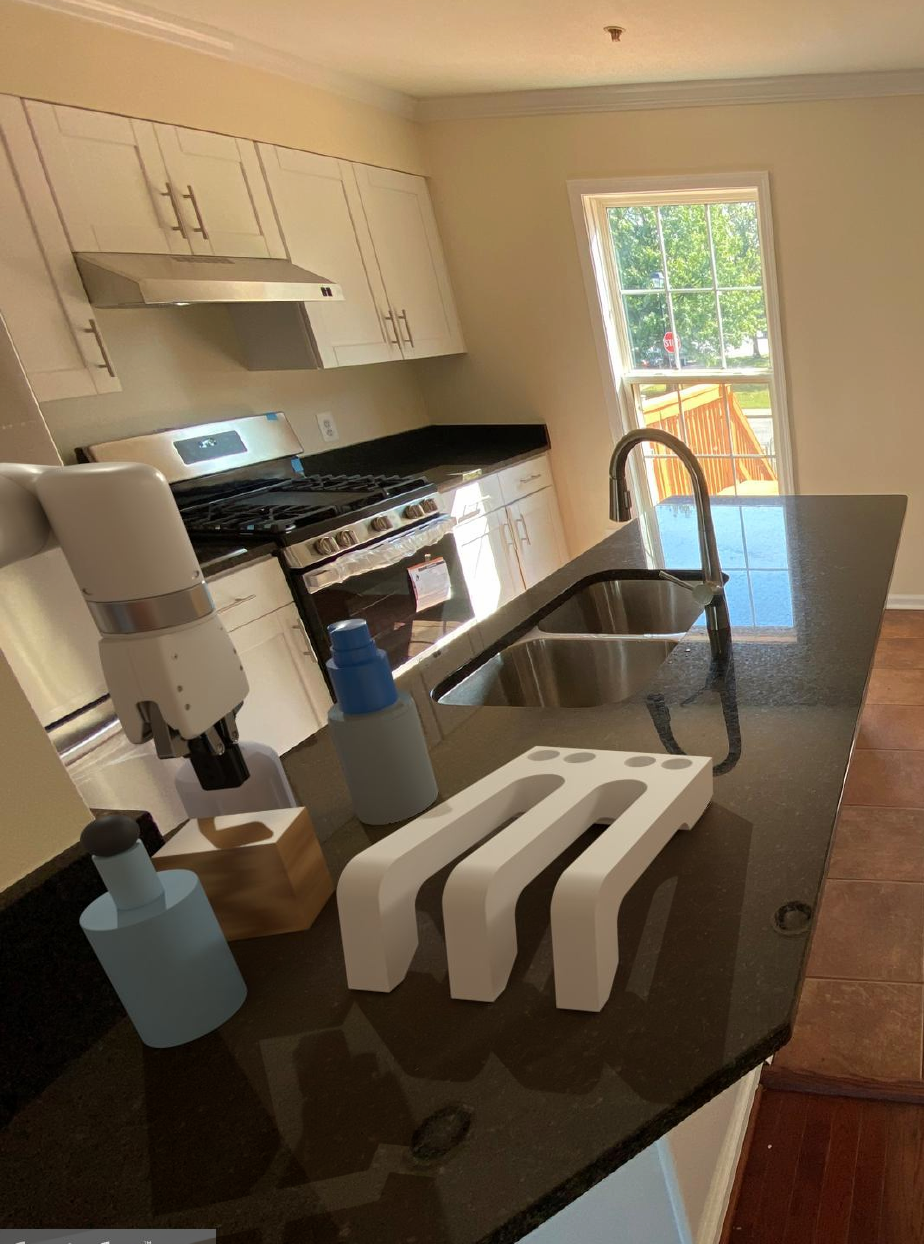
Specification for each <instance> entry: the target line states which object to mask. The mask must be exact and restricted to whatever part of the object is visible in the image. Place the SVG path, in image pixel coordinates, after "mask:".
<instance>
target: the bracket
mask: <svg viewBox="0 0 924 1244" xmlns="http://www.w3.org/2000/svg"><path fill="white" fill-rule="evenodd" d="M713 769H714V768H713V757H712V756H701V755H687V754H686V755H685V754H668V753H653V752H652V753H651V752H638V751H637V752H636V751H621V750H604V749H592V748H589V749H588V748H576V747H575V748H574V747H573V748H572V747H558V746H557V747H556V746H544V745H535V746H533V747H532V748H530V749H528V750H527V751H525V752H524V753H522V754H520V755H518V756H517V757H515V758H514V759H512V760H511V761H509V762H508V763H506V764H504V765H503V766H501V767H499V768H497V769H496V770H493V771H492V772H490V773H489V774H487V775H486V776H484V777H482V778H481V779H479V780H477V781H476V782H474V783H473V784H471V785H470V786H467V787H466V788H465V789H463V790H461V791H459V792H458V793H456V794H455V795H454V796H451V797H450V798H448V799H446V800H445V801H443V802H441V803H440V804H438V805H436V806H435V807H433V808H432V809H430V810H429V811H427V812H425V813H423V814H421V815H420V816H418V817H417V818H416V819H413V820H412V821H410V822H408V823H407V824H406V825H404V826H401V827H400V828H399V829H397V830H395V831H393V832H392V833H391V834H389V835H387V836H386V837H384V838H382V839H381V840H378V841H377V842H376V843H374V844H373V845H371V846H369V847H367V848H366V849H364V850H362V851H361V852H359V853H358V854H356V855H355V856H354V857H352V858H351V859H350V860H349V862H347V864H346V866H345V867H344V869H343V870H342V872H341V874H340V876H339V879H338V882H337V887H336V902H337V910H338V911H337V912H338V918H339V925H340V935H341V941H342V950H343V956H344V964H345V965H344V966H345V972H346V980H347V986H348V987H347V989H349V990H360V991H371V992H383V993H390V992H392V990H394V989H395V988H396V987H397V986H398V985H399V984H401V983H402V982H403V981H404V980H405V978H406V975H407V973H408V970H409V968H410V966H411V964H412V961H413V958H414V956H415V953H416V951H417V949H418V946H419V944H420V943H419V934H418V924H417V914H416V899H417V895H418V893H419V891H420V888H421V887H422V885H423V884H424V883H425V882H426V881H427V880H428V879H429V878H431V877H432V876H433V875H434V874H437V873H438V872H439V871H440V870H442V869H443V868H444V867H446V866H447V865H448V864H450V863H452V862H453V861H454V860H455V859H456V858H458V857H459V856H460V855H462V854H464V852H466V851H467V850H468V849H470V848H471V847H473V846H475V845H476V844H477V843H478V842H480V841H481V840H482V839H484V838H485V837H486V836H488V835H489V834H490V833H492V832H494V830H495V829H497V828H498V827H500V826H501V825H502V824H504V823H505V822H507V821H508V820H510V819H511V818H515V819H516V820H514V821H513V822H512V823H510V824H509V825H508V826H506V827H504V829H502V830H501V831H499V833H497V834H496V835H495V836H493V837H492V838H490V839H489V840H488V841H487V842H485V843H484V844H482V845H481V846H480V847H479V848H476V850H474V851H473V852H472V853H470V854H469V855H468V856H467V857H465V858H464V859H463V860H461V861H460V862H459V863H458V864H457V865H456V866H455V867H454V868H453V869H452V871H451V872H450V874H449V876H448V878H447V879H446V882H445V886H444V888H443V893H442V899H441V905H442V916H443V917H442V918H443V926H444V937H445V946H446V956H447V957H446V958H447V970H448V979H449V988H450V998H451V999H458V1000H467V1001H478V1002H491V1003H494V1002H495V1001H496V1000H497V999H498V997H500V995H501V994H502V993H503V992H504V991H505V990H506V987H507V985H508V982H509V978H510V976H511V973H512V970H513V967H514V963H515V960H516V958H517V955H518V942H517V941H518V940H517V927H516V914H515V913H516V906H517V902H518V899H519V897H520V895H521V893H522V891H523V890H524V889H525V887H526V886H528V885H529V884H530V883H531V882H532V881H533V880H535V878H536V877H537V876H539V875H540V874H541V872H543V871H544V870H545V869H546V868H547V867H548V866H549V865H550V864H551V863H552V862H553V861H554V860H556V859H557V858H558V857H559V856H561V854H562V853H563V852H564V851H565V850H566V849H568V848H569V847H570V846H571V845H572V844H573V843H574V842H575V841H576V840H577V839H578V838H579V837H581V835H583V834H584V833H585V832H586V831H587V830H588V829H589V828H591V826H592V825H594V824H599V825H610V826H608V828H606V830H604V832H602V833H601V834H600V835H599V836H598V837H597V838H596V840H594V841H593V842H592V843H591V845H589V846H588V847H587V848H586V849H585V850H584V851H583V852H582V853H581V854H580V855H579V856H578V857H577V858H576V859H575V860H574V861H573V862H572V863H571V864H570V865H569V866H568V867H567V868H566V869H565V870H563V872H562V874H561V875H560V877H559V878H558V880H557V883H556V885H555V887H554V890H553V894H552V898H551V903H550V927H551V941H552V942H551V943H552V956H553V957H552V959H553V973H554V975H553V976H554V986H555V987H554V988H555V990H554V991H555V1001H556V1002H555V1005H556V1009H566V1010H574V1011H575V1010H577V1011H586V1012H597V1013H600V1012H601V1010H602V1009H603V1008H604V1006H605V1004H606V1003H607V1001H608V1000H609V999H610V994H611V991H612V987H613V984H614V980H615V975H616V973H617V970H618V965H619V941H618V915H619V911H620V907H621V904H622V902H623V899H624V897H625V895H626V894H627V893H628V892H629V891H630V890H631V888H632V887H633V886H634V884H635V883H636V882H637V881H638V879H639V878H640V877H641V876H642V875H643V873H644V872H645V871H646V869H647V868H649V866H650V864H652V862H653V861H654V860H655V858H656V857H657V856H658V854H660V852H661V851H662V850H663V849H664V847H665V846H666V845H667V843H669V841H670V840H671V839H672V838H673V836H674V835H675V833H676V832H677V831H678V830H685V831H691V830H692V828H693V827H694V826H695V825H696V823H697V822H698V821H699V819H700V818H701V816H702V815H704V813H705V811H706V810H707V809H706V807H707V804H708V803H709V801H710V799H711V797H712V795H713V796H714V790H713V789H714V783H713V782H714V781H713V780H714V778H713V777H714V776H713V773H714V772H713V771H714V770H713ZM707 808H708V807H707ZM705 809H706V810H705ZM704 810H705V811H704ZM703 812H704V813H703Z"/></svg>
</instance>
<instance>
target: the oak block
mask: <svg viewBox="0 0 924 1244" xmlns="http://www.w3.org/2000/svg"><path fill="white" fill-rule="evenodd" d="M150 860H151V862H152V864H153V866H154V868H155V871H156V872H160V871H166V870H175V869H182V870H189V871H192V872H194V873H195V874H196V875H197V876H198V878H199V880H200V883H201V885H202V887H203V889H204V892H205V894H206V896H207V898H208V901H209V903H210V905H211V908H212V910H213V912H214V914H215V917H216V919H217V921H218V923H219V926H220V928H221V930H222V932H223V935H224V937H225V939H226V941H227V943H228V942H233V941H234V942H235V941H241V940H246V939H247V940H248V939H254V938H261V937H268V936H275V935H281V934H288V933H296V932H301V931H309V929H310V928H311V927H312V925H313V924H314V922H315V921H316V919H317V918H318V916H319V914H320V913H321V911H322V910H323V909H324V907H325V906H326V904H327V902H328V901H329V899H330V897H331V896H332V895H333V894H334V891H335V890H336V888H335V885H334V881H333V879H332V876H331V873H330V871H329V867H328V865H327V862H326V860H325V856H324V853H323V851H322V848H321V845H320V842H319V839H318V836H317V834H316V831H315V828H314V825H313V823H312V819H311V816H310V814H309V811H308V808H307V806H297V807H296V808H287V809H278V810H270V811H261V812H252V813H243V814H234V815H226V816H217V817H208V818H199V819H191V820H189V821H188V822H186V824H185V825H183V827H182V828H180V829H179V830H178V831H177V832H176V833H175V834H174V835H173V836H172V837H171V838H170V839H169V840H168V841H167V842H165V844H164V845H163V846H161V848H160V849H158V851H156V853H154V854H153V855H152V856H151V857H150Z"/></svg>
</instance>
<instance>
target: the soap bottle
mask: <svg viewBox="0 0 924 1244" xmlns="http://www.w3.org/2000/svg"><path fill="white" fill-rule="evenodd" d="M235 743H238V745H239V748H240V750H241V753H242V755H243V758H244V760H245V763H246V765H247V768H248V770H249V773H250V778H249V779H248V780H247V781H244V783H243V784H242V785H241V786H240V787H238V788H230V789H221V790H212V791H205V790H203V789H202V787H201V785H200V782H199V780H198V778H197V775H196V773H195V771H194V768H193V766H192V764H191V761H190V759H189V758H188V759H187V760H186V761H185V762H184V763H183V764H182V765H181V766H180V767H179V768H178V770H177V772H176V773H175V777H174V786H175V789H176V791H177V794H178V796H179V799H180V801H181V804H182V805H183V808H184V810H185V812H186V815H187V818H188V819H189V821H190V820H191V819H199V818H208V817H217V816H226V815H234V814H243V813H252V812H261V811H270V810H278V809H287V808H296V807H298V806H297V804H296V800H295V798H294V795H293V792H292V789H291V787H290V786H291V785H290V784H289V780H288V778H287V775H286V772H285V768H284V766H283V763H282V761H281V758H280V755H279V754H278V752H277V751H276V750H275V749H274V748H273V747H272V746H270V745H268V744H265V743H262V742H257V741H253V740H241V739H238V741H237V742H233V744H235Z"/></svg>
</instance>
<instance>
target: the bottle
mask: <svg viewBox="0 0 924 1244" xmlns="http://www.w3.org/2000/svg"><path fill="white" fill-rule="evenodd" d="M140 835H141V830H140V826H139V824H138V823H137V821H136V820H134V819H133V818H132V817H129V816H127V815H123V814H108V815H107V814H106V815H104V816H103V815H102V816H100V817H98V818H96V819H94V820H92V821H91V822H90V823H88V824H87V825H86V826H84V828H83V830H82V831H81V833H80V836H79V844H80V846H81V848H82V849H83V850H84V851H85V852H86V853H88V854H89V855H91V860H92V862H93V863H94V865H95V868H96V869H97V871H98V874H99V875H100V877H101V879H102V881H103V883H104V885H105V888H106V889H107V892H105V893H103V894H102V895H100V896H98V897H97V898H96V899H95V900H93V901H92V902H91V903H90V904H89V905H88V906H87V907H86V908H85V909H84V911H83V912H82V913H81V915H80V917H79V926H80V927H81V929H82V931H83V933H84V934H85V936H86V938H87V940H88V942H89V944H90V946H91V948H92V949H93V952H94V953H95V955H96V957H97V959H98V961H99V963H100V964H101V966H102V968H103V970H104V971H105V974H106V975H107V977H108V979H109V981H110V983H111V984H112V985H111V986H113V988H114V990H115V992H116V994H117V996H118V998H119V1000H120V1002H121V1003H122V1005H123V1007H124V1009H125V1010H126V1012H127V1014H128V1017H129V1018H130V1019H131V1022H132V1024H133V1025H134V1027H135V1029H136V1031H137V1033H138V1035H139V1037H140V1038H141V1041H142V1042H143V1044H145V1045H146V1046H148V1047H151V1048H156V1049H157V1048H158V1049H165V1048H172V1047H176V1046H180V1045H184V1044H187V1043H189V1042H192V1041H195V1040H197V1039H200V1038H201V1037H203V1036H205V1035H207V1034H209V1033H211V1032H213V1031H214V1030H216V1029H218V1028H219V1027H220V1026H222V1025H223V1024H224V1023H225V1022H227V1021H228V1020H229V1019H231V1018H232V1017H233V1016H234V1015H235V1014H236V1013H237V1011H239V1010H240V1008H241V1007H242V1006H243V1004H244V1002H246V1001H245V1000H246V998H247V996H248V987H247V984H246V983H245V980H244V977H243V975H242V973H241V971H240V969H239V966H238V965H237V961H236V960H235V957H234V955H233V953H232V951H231V949H230V945H229V944H228V942H227V941H226V939H225V937H224V935H223V932H222V930H221V928H220V926H219V923H218V921H217V919H216V917H215V914H214V912H213V910H212V908H211V905H210V903H209V901H208V898H207V896H206V894H205V892H204V889H203V887H202V885H201V883H200V880H199V878H198V876H197V875H196V874H195V873H194V872H192V871H189V870H182V869H175V870H166V871H160V872H157V871H156V869H155V867H154V865H153V863H152V860H151V857H150V856H149V853H148V852H147V849H146V847H145V845H144V843H143V840H142V839H141V838H140Z"/></svg>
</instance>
